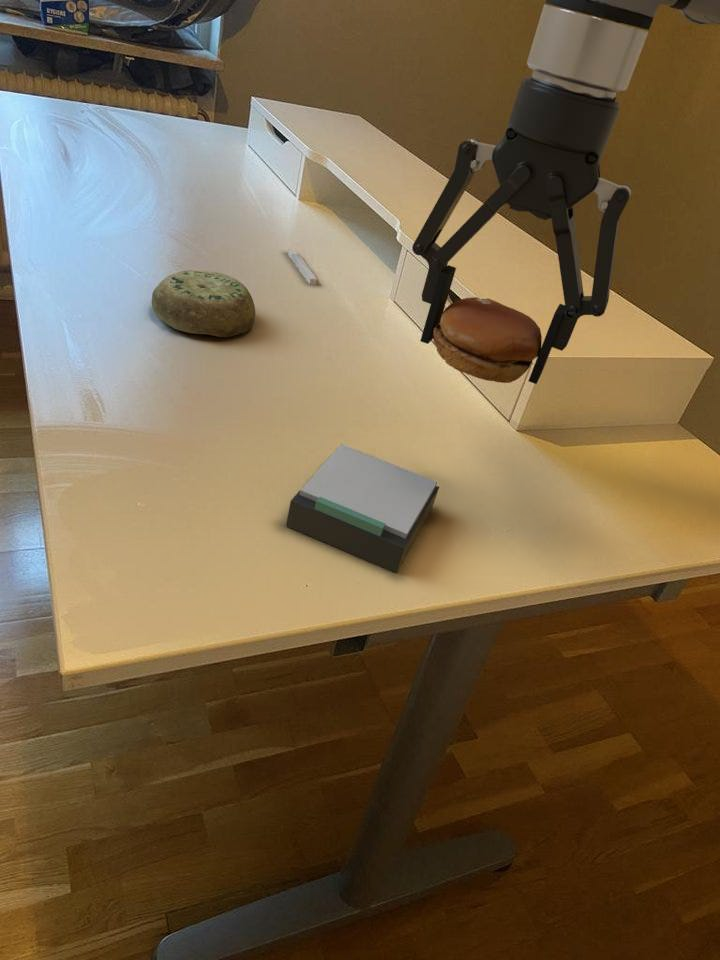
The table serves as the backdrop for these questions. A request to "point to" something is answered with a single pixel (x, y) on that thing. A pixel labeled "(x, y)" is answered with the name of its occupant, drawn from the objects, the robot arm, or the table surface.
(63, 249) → the table surface
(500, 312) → the burger
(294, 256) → the light grey bar
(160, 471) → the table surface
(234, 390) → the table surface
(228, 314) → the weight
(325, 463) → the scale
